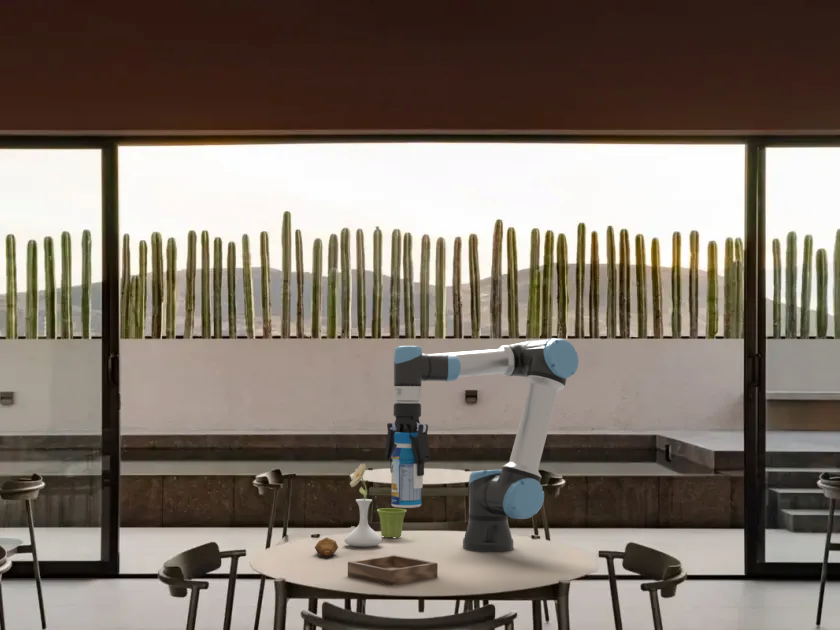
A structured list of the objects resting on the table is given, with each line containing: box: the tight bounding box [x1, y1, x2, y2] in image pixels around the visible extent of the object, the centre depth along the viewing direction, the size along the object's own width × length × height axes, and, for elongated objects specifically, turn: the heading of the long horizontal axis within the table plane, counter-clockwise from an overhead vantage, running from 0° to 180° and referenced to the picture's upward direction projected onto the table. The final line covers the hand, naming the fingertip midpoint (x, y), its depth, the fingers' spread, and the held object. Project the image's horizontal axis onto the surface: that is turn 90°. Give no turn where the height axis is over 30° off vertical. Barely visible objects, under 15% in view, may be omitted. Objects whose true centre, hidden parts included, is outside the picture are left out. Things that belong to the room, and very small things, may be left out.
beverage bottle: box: [390, 432, 422, 509], centre depth 262 cm, size 8×8×20 cm
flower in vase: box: [344, 463, 383, 548], centre depth 290 cm, size 13×11×25 cm
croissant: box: [314, 537, 339, 559], centre depth 275 cm, size 14×7×5 cm, turn 8°
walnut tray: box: [347, 554, 439, 587], centre depth 244 cm, size 16×16×4 cm
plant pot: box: [376, 507, 407, 538], centre depth 309 cm, size 9×9×9 cm
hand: (406, 486), depth 262 cm, fingers closed on beverage bottle, 8 cm apart
